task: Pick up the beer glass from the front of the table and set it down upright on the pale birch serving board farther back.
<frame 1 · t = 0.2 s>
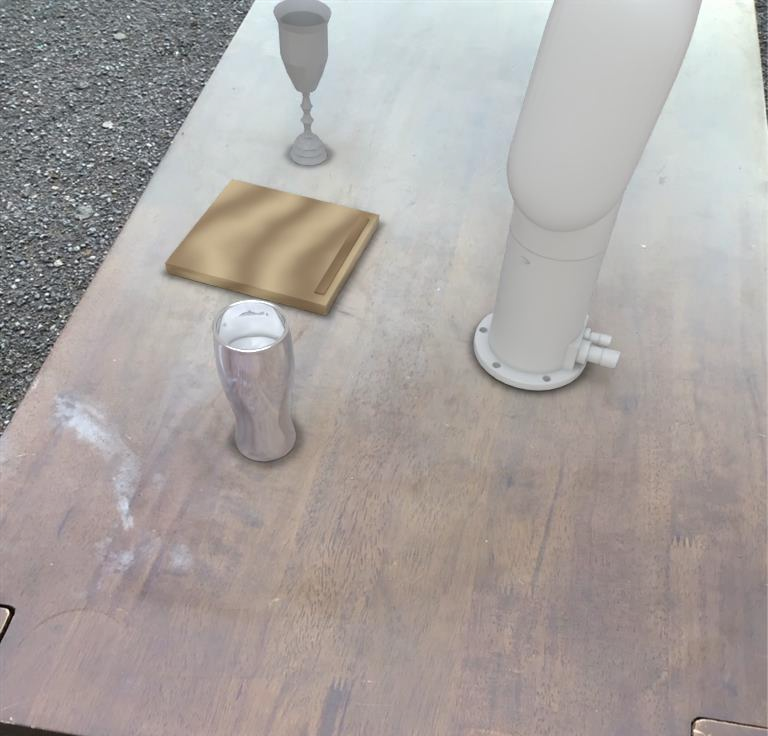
chalice: (308, 156, 111), on the table
serving board: (276, 248, 99), on the table
beer glass: (265, 439, 82), on the table
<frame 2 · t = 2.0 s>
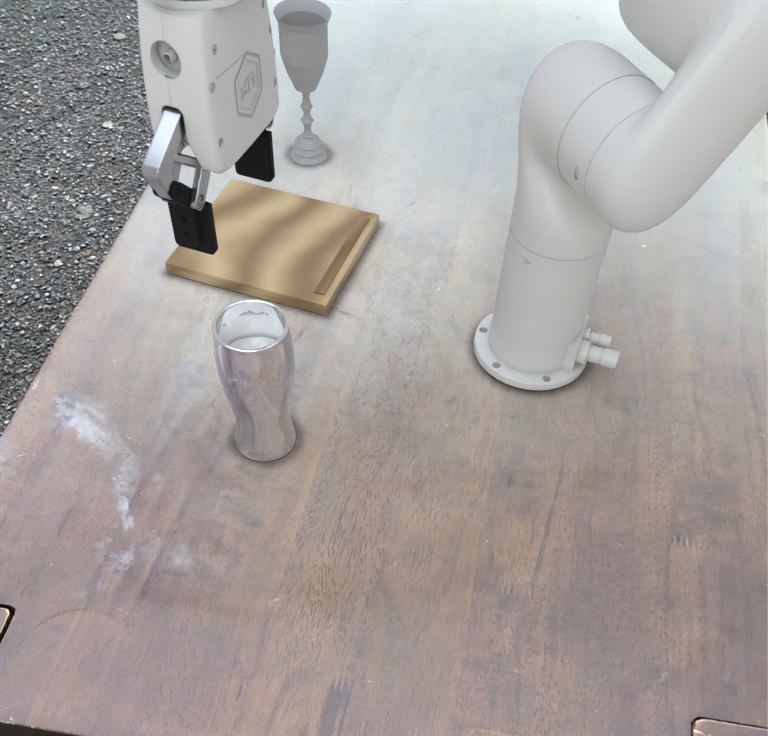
hand: (227, 210, 62), 25 cm above the table, tool pointing down, fingers open, 9 cm apart
nothing on the table moved.
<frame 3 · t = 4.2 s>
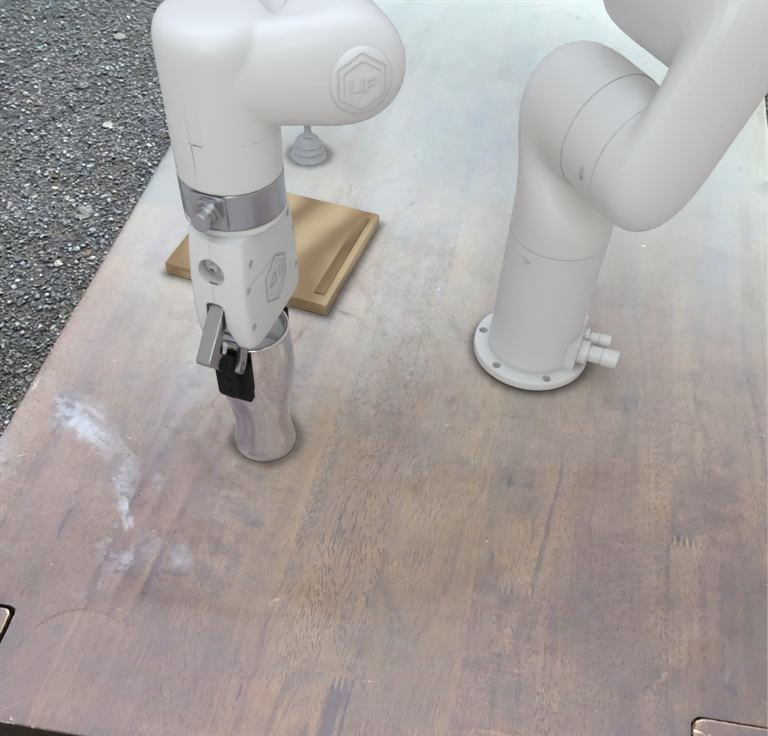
hand: (255, 365, 73), 10 cm above the table, tool pointing down, fingers closed on beer glass, 7 cm apart
beer glass: (265, 439, 82), on the table, touching gripper
everything else where it was.
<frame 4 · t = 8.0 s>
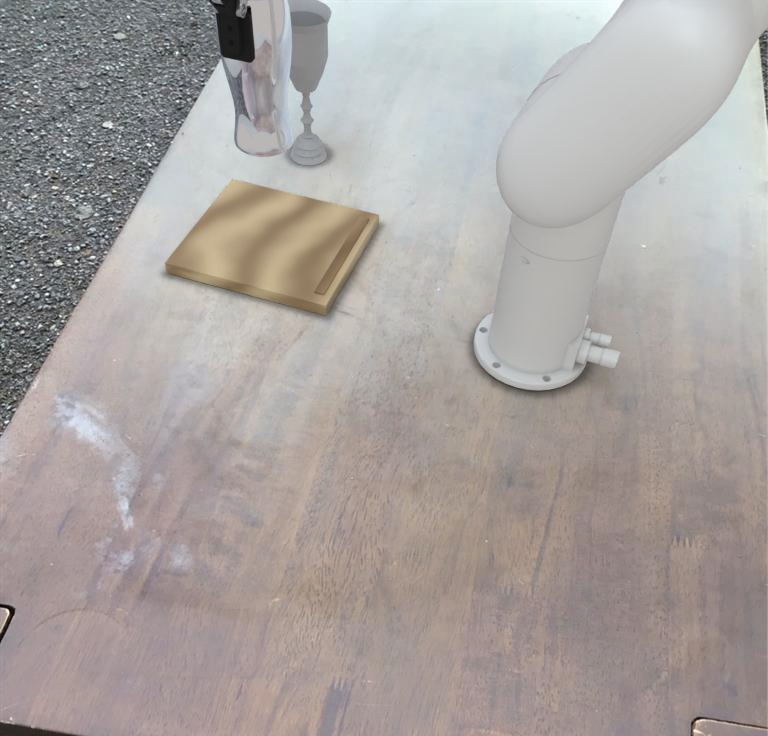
hand: (255, 38, 76), 26 cm above the table, tool pointing down, fingers closed on beer glass, 7 cm apart
beer glass: (264, 142, 85), point 15 cm above the table, touching gripper
everything else where it was.
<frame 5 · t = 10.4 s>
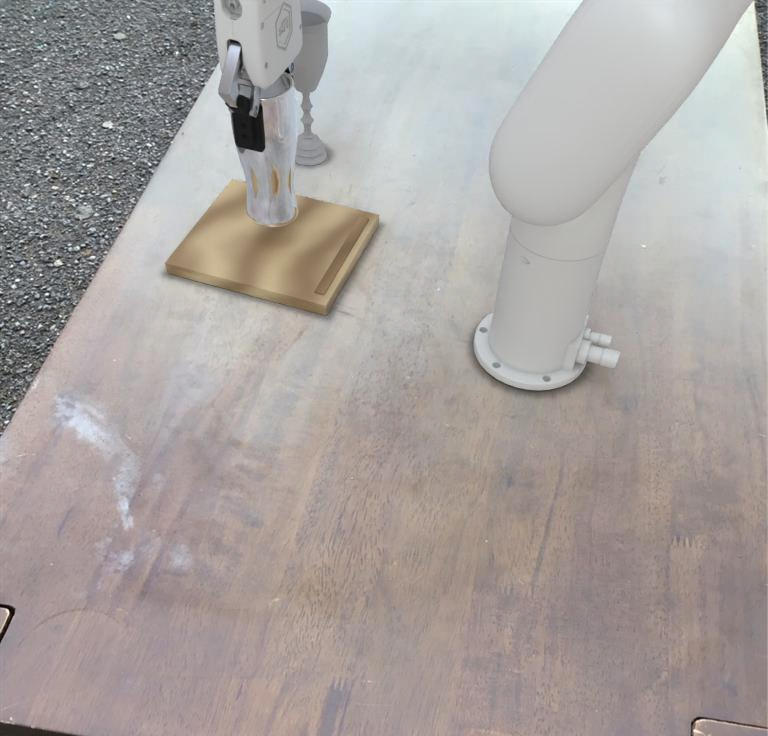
hand: (266, 128, 86), 15 cm above the table, tool pointing down, fingers closed on beer glass, 7 cm apart
beer glass: (272, 213, 95), point 5 cm above the table, touching gripper
everything else where it was.
when the fingers open (12 cm above the table, at t = 11.9 s): beer glass stays where it is, resting on serving board.
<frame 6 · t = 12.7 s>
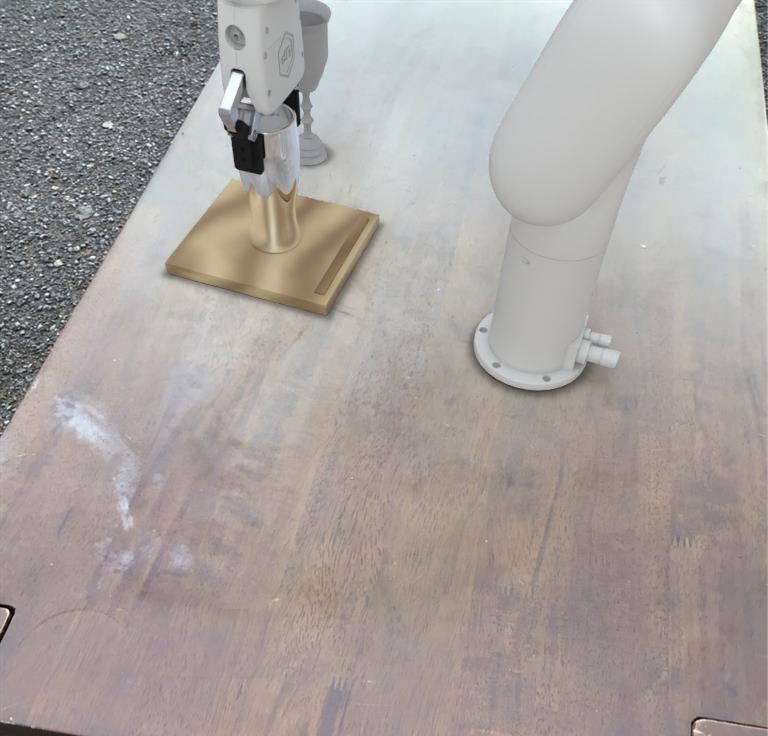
hand: (268, 146, 88), 13 cm above the table, tool pointing down, fingers open, 9 cm apart
beer glass: (275, 239, 98), point 1 cm above the table, touching serving board
everything else where it was.
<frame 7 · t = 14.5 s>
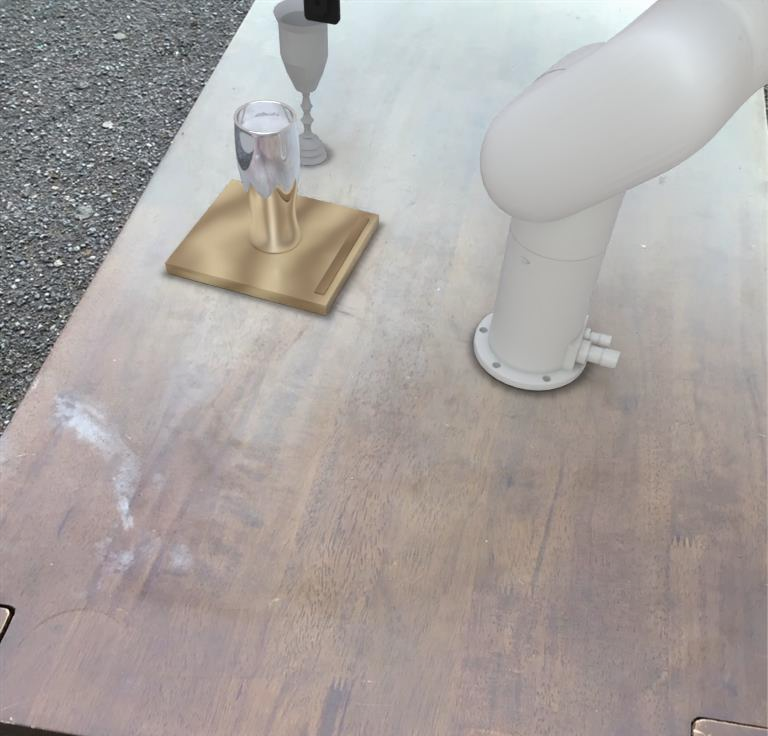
nothing on the table moved.
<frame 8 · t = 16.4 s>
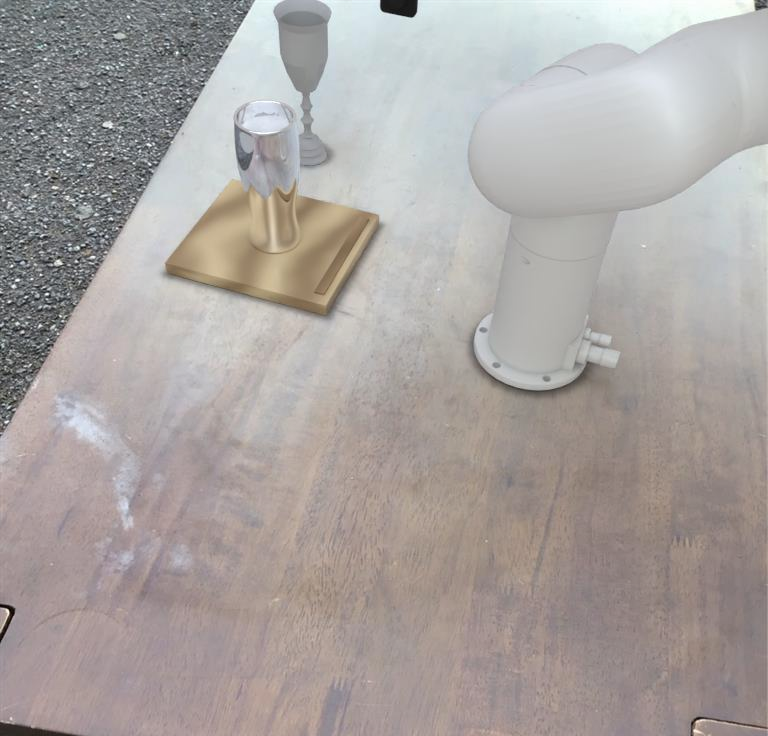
nothing on the table moved.
at the end: beer glass inside the target area on the serving board (0.0 cm from its centre), point 1.3 cm above the serving board's base; beer glass tilted 0°; the gripper is holding nothing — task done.
